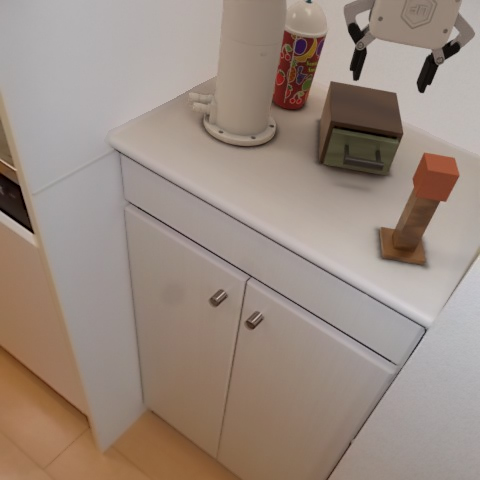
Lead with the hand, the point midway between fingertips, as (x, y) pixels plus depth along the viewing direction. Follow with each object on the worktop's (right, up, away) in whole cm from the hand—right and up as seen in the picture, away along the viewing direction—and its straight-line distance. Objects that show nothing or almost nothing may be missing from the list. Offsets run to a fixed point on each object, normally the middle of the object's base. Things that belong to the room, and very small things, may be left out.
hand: (387, 82), depth 73 cm
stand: (+3, -23, +3) cm, 23 cm away
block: (+4, -16, -5) cm, 17 cm away
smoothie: (-11, +8, +26) cm, 30 cm away
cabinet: (-1, -3, +19) cm, 19 cm away
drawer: (-1, -6, +15) cm, 16 cm away
